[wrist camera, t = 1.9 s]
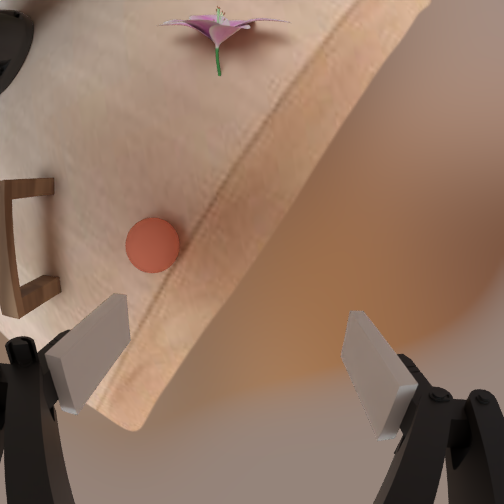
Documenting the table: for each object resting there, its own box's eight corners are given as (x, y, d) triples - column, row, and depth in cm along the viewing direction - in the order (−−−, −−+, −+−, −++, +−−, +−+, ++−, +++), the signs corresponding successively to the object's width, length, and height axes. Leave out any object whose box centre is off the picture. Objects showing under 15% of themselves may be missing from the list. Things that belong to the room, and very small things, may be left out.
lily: (299, 57, 29) (303, -14, 20) (237, 119, 26) (224, 35, 17) (215, 32, 32) (204, -29, 22) (149, 85, 29) (121, 18, 20)
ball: (137, 214, 32) (115, 220, 27) (185, 215, 32) (171, 222, 27) (138, 263, 33) (118, 277, 28) (185, 266, 33) (171, 282, 28)
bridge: (44, 289, 34) (2, 314, 25) (37, 179, 31) (-13, 182, 22) (61, 292, 34) (18, 319, 25) (54, 177, 31) (4, 180, 22)
